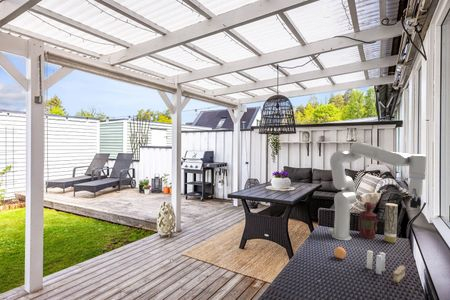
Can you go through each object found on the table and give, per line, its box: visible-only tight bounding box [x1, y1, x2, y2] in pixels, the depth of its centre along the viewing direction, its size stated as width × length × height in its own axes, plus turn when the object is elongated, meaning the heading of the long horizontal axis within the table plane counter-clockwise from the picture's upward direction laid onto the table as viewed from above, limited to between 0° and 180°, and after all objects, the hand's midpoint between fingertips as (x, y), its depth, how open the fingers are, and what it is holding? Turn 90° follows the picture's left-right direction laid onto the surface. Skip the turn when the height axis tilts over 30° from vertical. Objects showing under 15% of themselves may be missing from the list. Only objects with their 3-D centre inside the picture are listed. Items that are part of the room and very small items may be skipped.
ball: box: [333, 246, 347, 259], centre depth 143 cm, size 6×6×6 cm
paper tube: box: [383, 202, 399, 244], centre depth 174 cm, size 7×7×25 cm
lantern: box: [357, 193, 378, 240], centre depth 183 cm, size 12×12×30 cm
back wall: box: [392, 264, 406, 284], centre depth 122 cm, size 2×12×4 cm, turn 133°
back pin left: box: [379, 251, 386, 272], centre depth 130 cm, size 2×2×8 cm
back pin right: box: [375, 254, 383, 275], centre depth 126 cm, size 2×2×8 cm
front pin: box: [366, 249, 374, 270], centre depth 132 cm, size 2×2×8 cm
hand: (415, 206), depth 145 cm, fingers open, 9 cm apart
